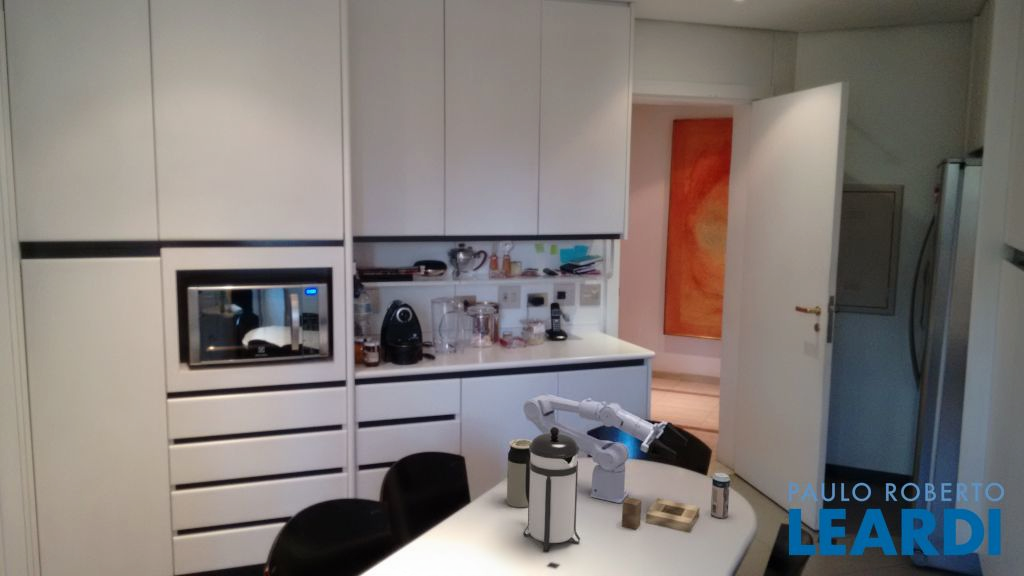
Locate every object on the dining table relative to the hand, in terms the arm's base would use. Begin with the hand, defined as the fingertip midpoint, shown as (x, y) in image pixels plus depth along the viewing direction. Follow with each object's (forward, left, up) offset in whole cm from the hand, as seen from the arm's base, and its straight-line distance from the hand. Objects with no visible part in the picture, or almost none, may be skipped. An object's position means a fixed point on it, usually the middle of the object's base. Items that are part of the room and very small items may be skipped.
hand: (681, 449), depth 192 cm
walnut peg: (-9, -14, -19) cm, 25 cm away
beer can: (+11, +5, -19) cm, 22 cm away
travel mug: (-42, -16, -19) cm, 49 cm away
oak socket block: (0, -4, -19) cm, 19 cm away
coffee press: (-26, -32, -19) cm, 46 cm away
